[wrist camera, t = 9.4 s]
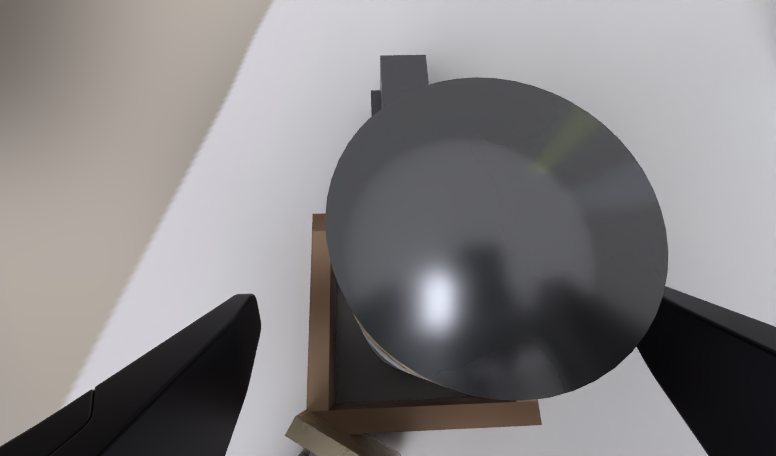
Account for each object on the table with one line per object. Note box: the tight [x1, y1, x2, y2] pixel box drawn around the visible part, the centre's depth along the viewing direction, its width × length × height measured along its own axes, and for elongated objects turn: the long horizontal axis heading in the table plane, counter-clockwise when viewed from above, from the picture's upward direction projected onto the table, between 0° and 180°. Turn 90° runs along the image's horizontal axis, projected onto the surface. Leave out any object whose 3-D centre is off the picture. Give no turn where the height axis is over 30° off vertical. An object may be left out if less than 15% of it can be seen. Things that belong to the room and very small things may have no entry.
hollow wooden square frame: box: [307, 214, 542, 434], centre depth 16 cm, size 9×9×2 cm
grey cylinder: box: [325, 78, 668, 401], centre depth 11 cm, size 5×5×13 cm
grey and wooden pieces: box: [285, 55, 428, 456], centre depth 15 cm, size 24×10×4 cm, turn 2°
